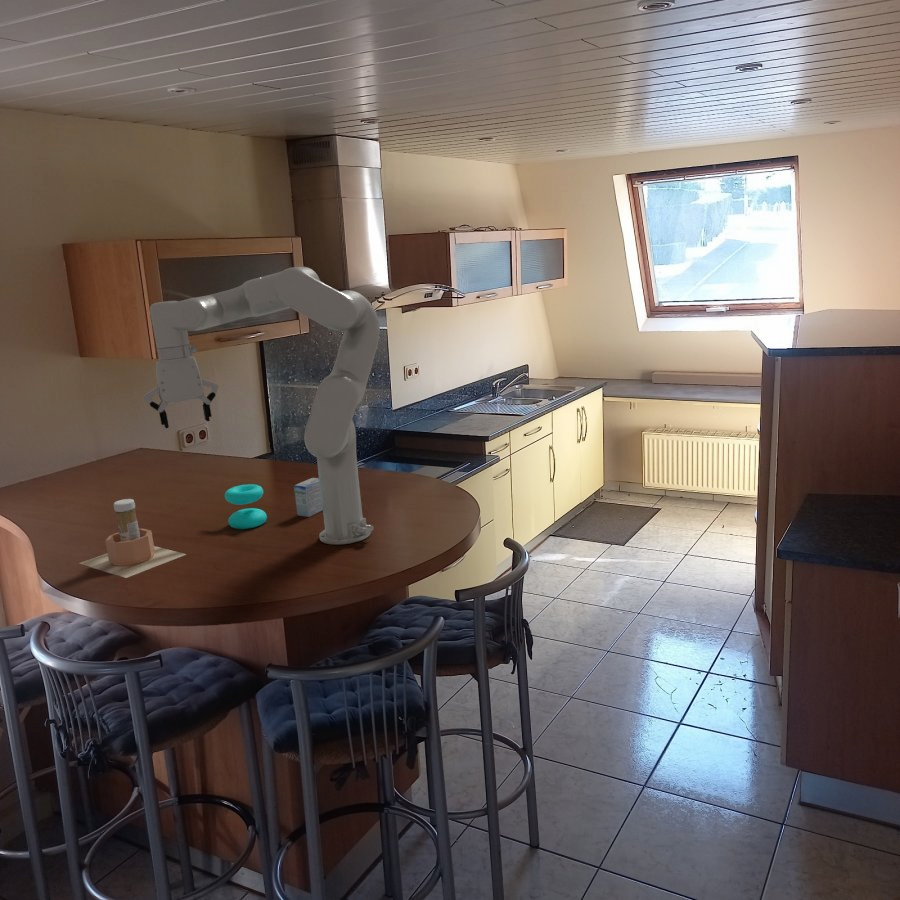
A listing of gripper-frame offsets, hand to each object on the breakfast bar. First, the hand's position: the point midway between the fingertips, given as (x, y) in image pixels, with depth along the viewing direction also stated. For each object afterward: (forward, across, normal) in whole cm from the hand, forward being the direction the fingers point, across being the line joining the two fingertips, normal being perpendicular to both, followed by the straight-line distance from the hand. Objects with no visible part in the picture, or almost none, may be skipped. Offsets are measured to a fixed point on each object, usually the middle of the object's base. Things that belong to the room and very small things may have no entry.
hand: (187, 423), depth 202 cm
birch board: (+30, +18, +5) cm, 36 cm away
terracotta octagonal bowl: (+29, +18, +5) cm, 34 cm away
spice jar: (+28, +18, +5) cm, 34 cm away
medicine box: (+31, -29, -8) cm, 44 cm away
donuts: (+31, -12, -9) cm, 34 cm away
